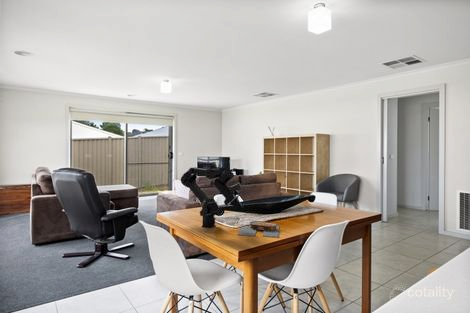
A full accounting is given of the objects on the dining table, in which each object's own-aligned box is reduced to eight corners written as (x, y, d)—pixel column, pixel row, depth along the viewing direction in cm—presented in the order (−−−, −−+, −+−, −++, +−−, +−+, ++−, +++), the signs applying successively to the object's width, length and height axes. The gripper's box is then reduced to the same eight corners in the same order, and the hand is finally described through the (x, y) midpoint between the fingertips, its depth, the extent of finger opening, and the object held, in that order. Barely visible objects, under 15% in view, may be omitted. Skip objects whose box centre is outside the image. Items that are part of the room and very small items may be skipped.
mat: (237, 235, 145) (237, 234, 145) (242, 224, 164) (242, 224, 164) (278, 237, 141) (278, 236, 141) (279, 226, 161) (279, 225, 161)
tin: (247, 223, 155) (253, 219, 163) (247, 229, 155) (253, 224, 163) (274, 227, 149) (278, 222, 157) (274, 232, 149) (278, 227, 157)
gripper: (230, 179, 144) (251, 201, 143) (235, 176, 162) (254, 195, 161) (215, 194, 145) (236, 216, 144) (222, 189, 164) (240, 208, 162)
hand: (242, 208), depth 153 cm, fingers closed
